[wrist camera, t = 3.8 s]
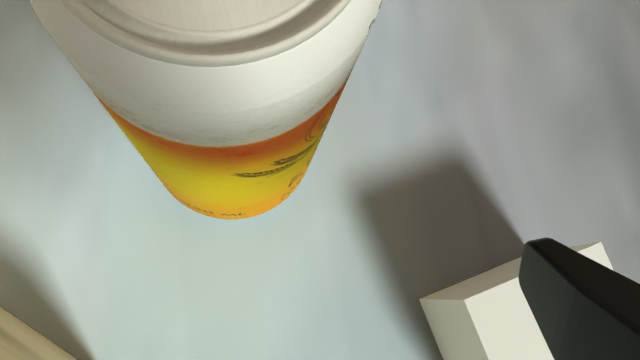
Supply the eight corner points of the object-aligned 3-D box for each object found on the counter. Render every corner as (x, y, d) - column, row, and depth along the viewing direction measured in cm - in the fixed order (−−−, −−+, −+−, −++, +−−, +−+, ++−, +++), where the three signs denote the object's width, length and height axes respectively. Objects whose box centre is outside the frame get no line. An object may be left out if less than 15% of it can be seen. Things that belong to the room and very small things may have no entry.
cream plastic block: (469, 425, 22) (530, 460, 18) (418, 299, 23) (463, 299, 18) (581, 372, 23) (669, 392, 18) (529, 253, 24) (600, 242, 19)
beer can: (318, 213, 23) (438, 69, 9) (159, 230, 22) (-10, 104, 8) (300, 66, 24) (378, -283, 10) (147, 78, 23) (-20, -286, 9)
